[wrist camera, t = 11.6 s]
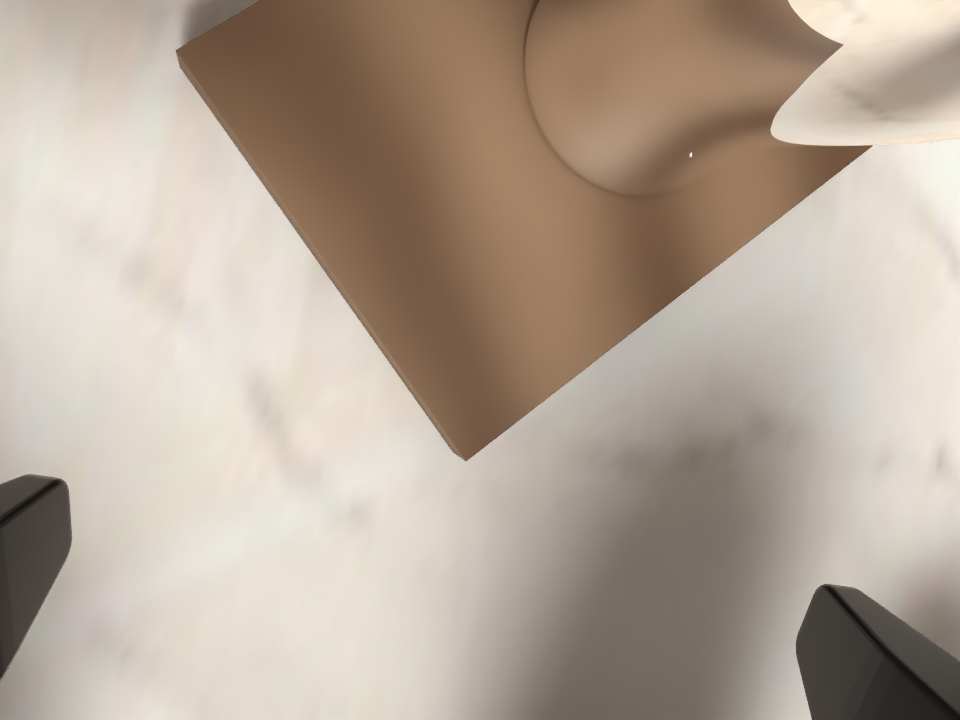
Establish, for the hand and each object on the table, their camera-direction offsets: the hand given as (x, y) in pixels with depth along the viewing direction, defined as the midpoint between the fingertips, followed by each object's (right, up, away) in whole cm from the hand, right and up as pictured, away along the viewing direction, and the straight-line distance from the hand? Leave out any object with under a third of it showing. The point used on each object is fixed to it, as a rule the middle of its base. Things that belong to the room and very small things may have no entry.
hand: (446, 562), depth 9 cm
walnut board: (+3, +9, +11) cm, 14 cm away
